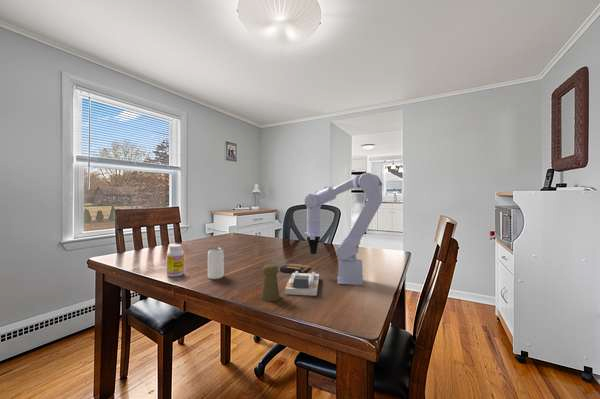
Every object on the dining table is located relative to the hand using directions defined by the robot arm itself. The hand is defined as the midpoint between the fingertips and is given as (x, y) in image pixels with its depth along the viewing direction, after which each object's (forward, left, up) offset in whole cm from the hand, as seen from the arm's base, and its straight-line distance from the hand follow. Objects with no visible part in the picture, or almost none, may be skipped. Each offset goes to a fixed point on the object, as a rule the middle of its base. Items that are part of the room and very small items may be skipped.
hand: (313, 253), depth 108 cm
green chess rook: (+13, +25, -10) cm, 30 cm away
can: (+41, +7, -10) cm, 43 cm away
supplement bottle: (+60, +6, -10) cm, 61 cm away
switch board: (+3, +13, -9) cm, 16 cm away
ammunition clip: (+11, -2, -8) cm, 14 cm away
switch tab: (+3, +19, -7) cm, 21 cm away
